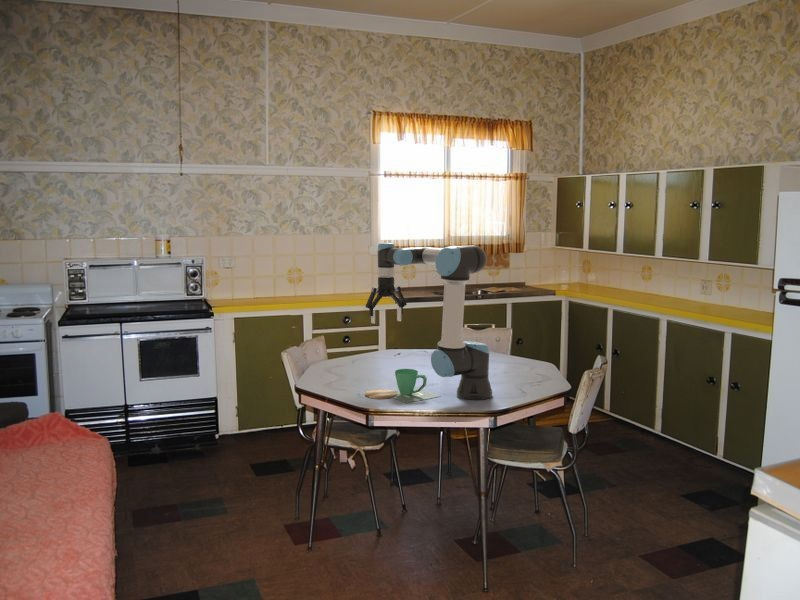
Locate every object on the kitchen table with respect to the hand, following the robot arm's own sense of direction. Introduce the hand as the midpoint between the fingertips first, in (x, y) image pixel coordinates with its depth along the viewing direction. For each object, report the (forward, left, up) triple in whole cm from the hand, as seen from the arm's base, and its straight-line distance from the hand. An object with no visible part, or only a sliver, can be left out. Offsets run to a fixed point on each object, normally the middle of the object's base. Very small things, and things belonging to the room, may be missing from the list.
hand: (386, 322), depth 340 cm
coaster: (-22, +18, -27) cm, 39 cm away
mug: (-30, +8, -27) cm, 41 cm away
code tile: (-30, +8, -27) cm, 41 cm away
